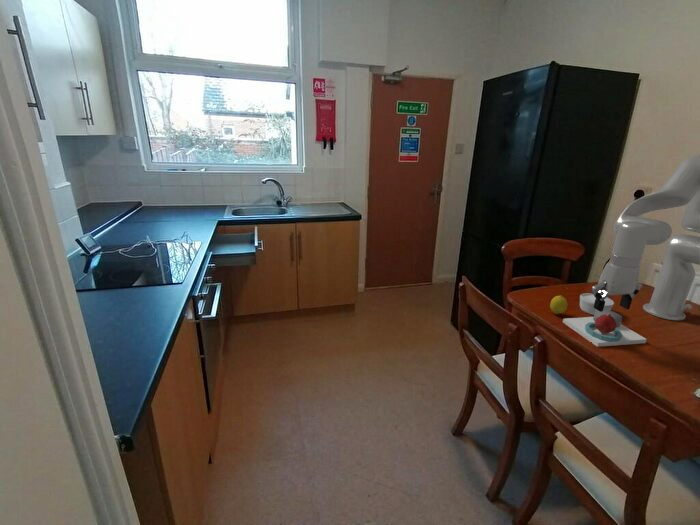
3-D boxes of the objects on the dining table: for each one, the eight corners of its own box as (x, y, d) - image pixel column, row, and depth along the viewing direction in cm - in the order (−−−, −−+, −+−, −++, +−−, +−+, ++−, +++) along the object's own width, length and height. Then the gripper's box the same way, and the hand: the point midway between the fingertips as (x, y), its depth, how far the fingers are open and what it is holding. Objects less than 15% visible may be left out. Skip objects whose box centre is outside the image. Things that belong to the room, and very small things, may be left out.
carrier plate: (605, 319, 129) (609, 308, 128) (645, 343, 114) (649, 331, 113) (562, 322, 127) (565, 311, 125) (597, 346, 112) (600, 334, 111)
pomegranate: (588, 329, 119) (594, 309, 116) (603, 328, 120) (610, 308, 117) (601, 338, 114) (608, 317, 111) (617, 337, 115) (624, 317, 112)
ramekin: (588, 302, 143) (591, 291, 141) (617, 314, 133) (620, 302, 132) (570, 307, 138) (573, 295, 137) (599, 320, 129) (603, 307, 127)
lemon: (566, 318, 130) (571, 299, 127) (551, 316, 131) (555, 297, 128) (561, 311, 135) (566, 293, 132) (546, 310, 136) (550, 291, 133)
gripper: (638, 255, 112) (624, 301, 118) (590, 258, 110) (578, 305, 116) (660, 263, 105) (644, 311, 112) (610, 266, 103) (596, 316, 110)
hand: (611, 308), depth 114 cm, fingers open, 9 cm apart
